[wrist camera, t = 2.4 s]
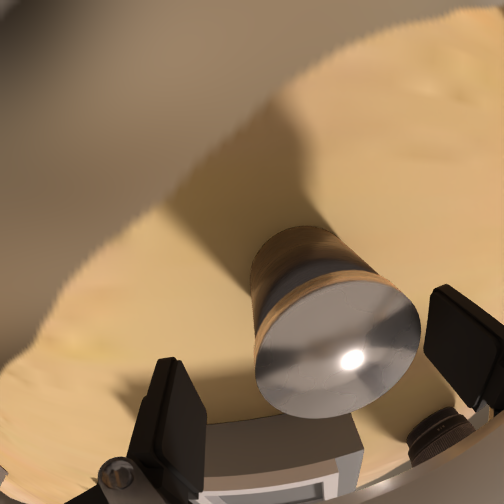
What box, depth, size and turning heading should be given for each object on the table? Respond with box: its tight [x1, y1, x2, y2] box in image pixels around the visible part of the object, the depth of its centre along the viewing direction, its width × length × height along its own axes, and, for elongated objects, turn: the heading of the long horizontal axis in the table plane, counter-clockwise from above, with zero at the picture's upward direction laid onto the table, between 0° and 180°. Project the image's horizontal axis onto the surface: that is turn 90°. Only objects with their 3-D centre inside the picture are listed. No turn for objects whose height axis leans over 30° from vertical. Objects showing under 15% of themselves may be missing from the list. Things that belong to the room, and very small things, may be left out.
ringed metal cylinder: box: [250, 226, 421, 419], centre depth 12 cm, size 6×6×7 cm
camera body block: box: [189, 412, 364, 504], centre depth 17 cm, size 14×10×6 cm
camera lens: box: [407, 407, 476, 468], centre depth 15 cm, size 8×8×15 cm
